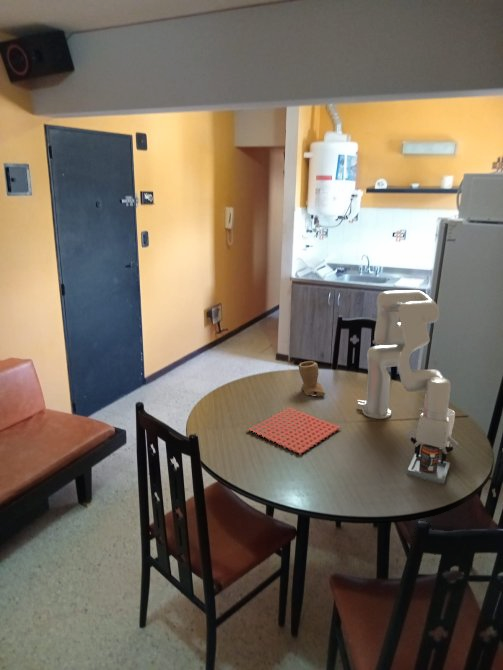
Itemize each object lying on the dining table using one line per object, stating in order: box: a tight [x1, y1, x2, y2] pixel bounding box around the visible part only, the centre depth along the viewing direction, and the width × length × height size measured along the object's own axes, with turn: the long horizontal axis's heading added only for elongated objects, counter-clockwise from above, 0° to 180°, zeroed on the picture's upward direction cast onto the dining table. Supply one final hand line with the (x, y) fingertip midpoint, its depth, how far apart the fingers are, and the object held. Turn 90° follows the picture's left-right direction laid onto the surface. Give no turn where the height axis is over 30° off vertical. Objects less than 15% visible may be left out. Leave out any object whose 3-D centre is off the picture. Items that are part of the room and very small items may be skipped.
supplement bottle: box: [419, 443, 441, 473], centre depth 162 cm, size 6×6×11 cm
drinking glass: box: [440, 407, 456, 450], centre depth 177 cm, size 7×7×15 cm
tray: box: [406, 453, 451, 486], centre depth 163 cm, size 12×12×2 cm
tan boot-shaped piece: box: [298, 360, 326, 397], centre depth 228 cm, size 15×12×15 cm
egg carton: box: [247, 407, 341, 456], centre depth 192 cm, size 28×28×2 cm
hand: (429, 458), depth 162 cm, fingers open, 7 cm apart
